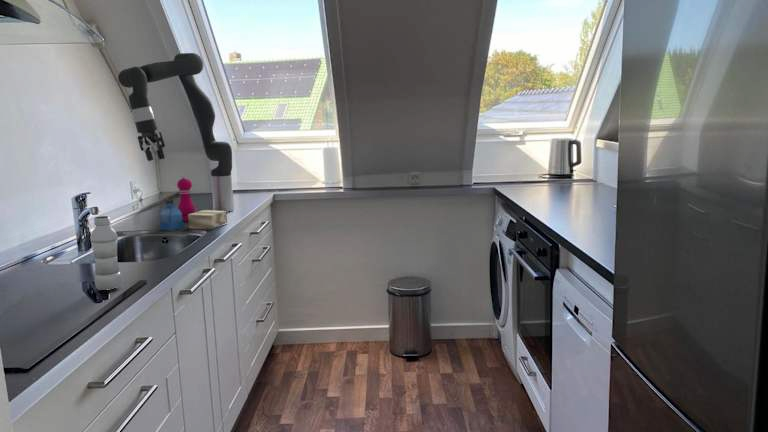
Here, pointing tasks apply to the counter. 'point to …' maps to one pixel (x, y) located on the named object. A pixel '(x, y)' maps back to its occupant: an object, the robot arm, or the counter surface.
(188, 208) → the pepper mill
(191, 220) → the birch block
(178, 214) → the perfume bottle
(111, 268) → the plastic bottle
